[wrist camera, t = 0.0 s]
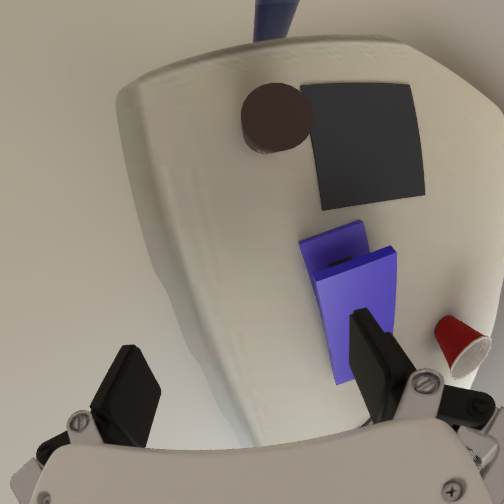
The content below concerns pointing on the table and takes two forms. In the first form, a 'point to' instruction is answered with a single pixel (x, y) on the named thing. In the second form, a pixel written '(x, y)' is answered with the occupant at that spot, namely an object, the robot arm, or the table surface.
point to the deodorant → (275, 118)
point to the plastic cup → (461, 346)
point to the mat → (365, 143)
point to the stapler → (349, 286)
